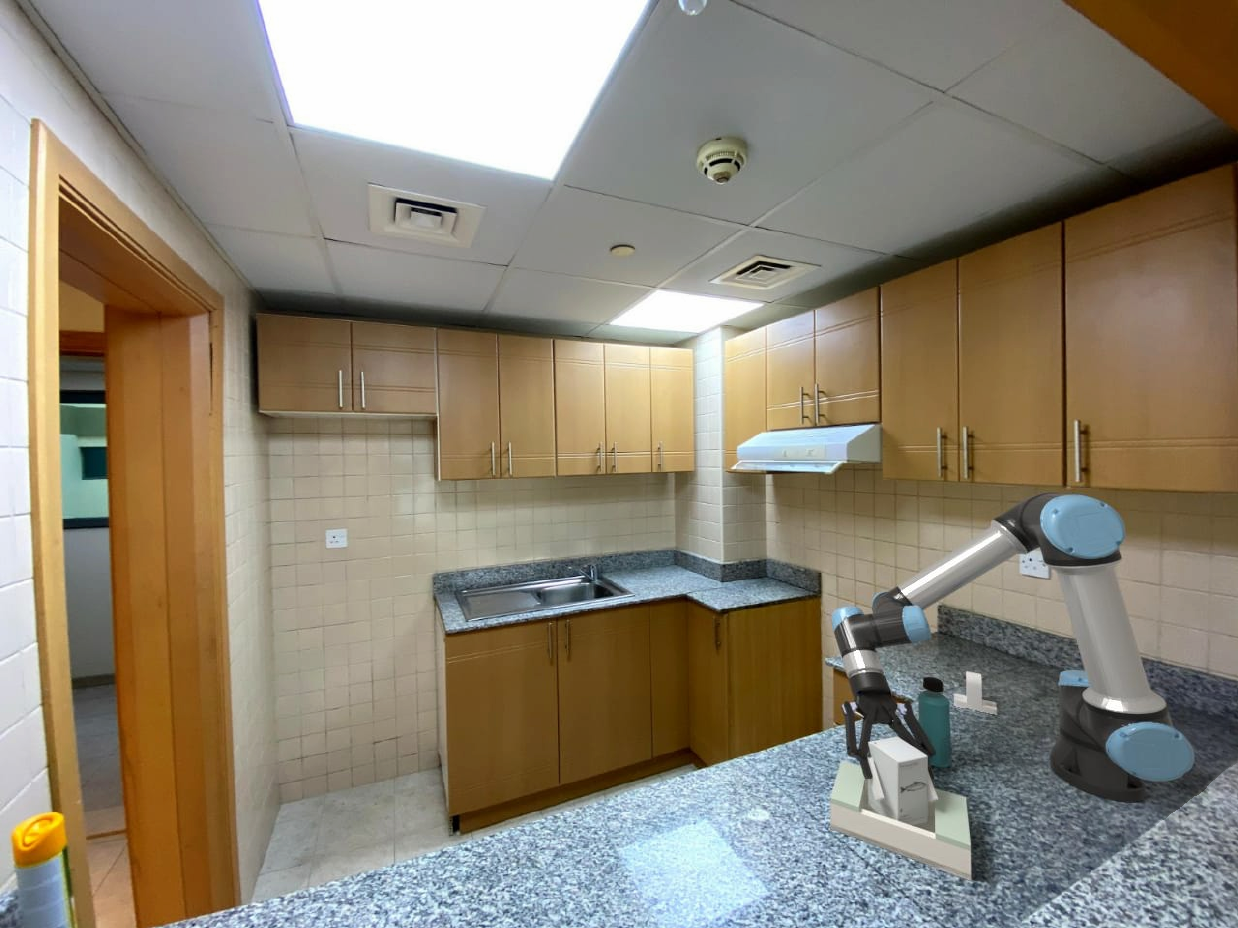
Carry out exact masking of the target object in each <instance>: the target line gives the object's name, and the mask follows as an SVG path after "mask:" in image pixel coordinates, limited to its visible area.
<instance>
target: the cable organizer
mask: <svg viewBox="0 0 1238 928" xmlns="http://www.w3.org/2000/svg"><path fill="white" fill-rule="evenodd" d="M965 674H966V675H965V677H966V678H965V683H966V685H965V686H966V688H965V691H966V693H965V694H966V695H965V694H961V693H957V692H956V693H953V707H954V706H956V707H955V708H957V707H960V708H959V709H961V708H969V709H973V710H977V711H980V712H986V713H990V714H995V715H997V716H998V707H997V703H996V702H995V701H992V700H987V699H982V698H983V695H982V694H983V691H982V689H983V687H982V686H983V683H982V674H981V673H979V672H973V671H968V670H966V673H965Z"/></svg>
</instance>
